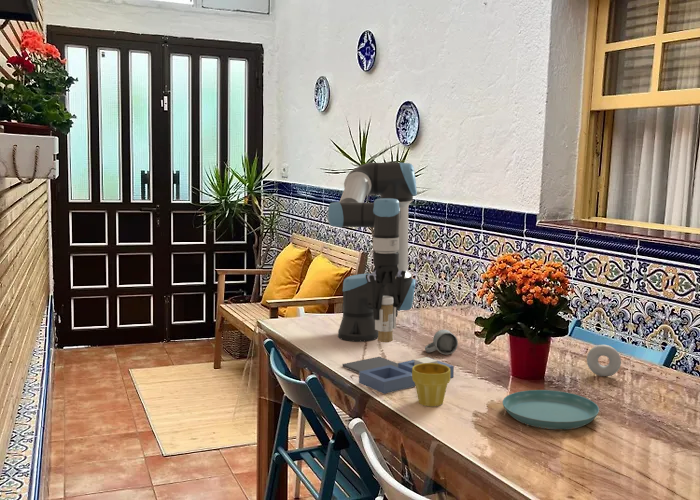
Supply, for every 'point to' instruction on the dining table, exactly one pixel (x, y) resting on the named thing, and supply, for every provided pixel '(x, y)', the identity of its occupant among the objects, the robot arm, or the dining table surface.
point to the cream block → (424, 360)
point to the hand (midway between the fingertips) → (385, 328)
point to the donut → (608, 352)
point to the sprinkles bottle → (386, 320)
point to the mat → (368, 364)
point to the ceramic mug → (443, 342)
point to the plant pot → (431, 382)
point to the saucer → (550, 409)
